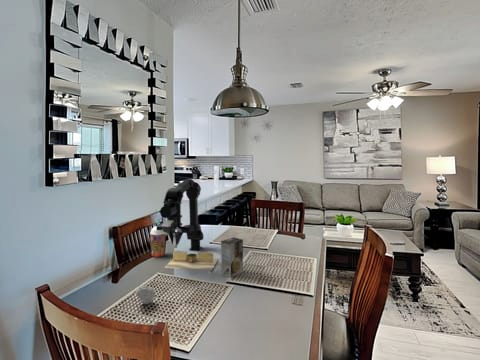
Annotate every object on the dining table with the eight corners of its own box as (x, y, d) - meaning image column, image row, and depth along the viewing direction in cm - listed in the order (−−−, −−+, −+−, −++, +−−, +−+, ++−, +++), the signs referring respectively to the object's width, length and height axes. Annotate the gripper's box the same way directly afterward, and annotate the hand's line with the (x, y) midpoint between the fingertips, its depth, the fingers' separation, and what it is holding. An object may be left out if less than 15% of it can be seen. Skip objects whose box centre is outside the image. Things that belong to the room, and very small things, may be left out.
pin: (174, 246, 147) (174, 231, 147) (179, 246, 146) (178, 232, 146) (171, 247, 145) (171, 232, 144) (176, 248, 144) (175, 233, 143)
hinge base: (175, 258, 156) (175, 249, 155) (198, 259, 154) (198, 250, 154) (171, 261, 150) (171, 252, 150) (195, 263, 149) (195, 253, 149)
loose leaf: (198, 260, 152) (198, 251, 152) (213, 260, 152) (213, 252, 152) (197, 261, 151) (197, 252, 151) (212, 261, 150) (212, 253, 150)
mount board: (174, 258, 158) (174, 256, 158) (218, 260, 156) (218, 258, 156) (164, 268, 142) (164, 267, 142) (211, 271, 140) (211, 270, 140)
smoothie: (149, 259, 155) (149, 223, 154) (150, 254, 163) (149, 219, 162) (165, 258, 157) (165, 222, 156) (165, 253, 165) (165, 219, 164)
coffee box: (233, 268, 143) (233, 236, 142) (243, 272, 139) (243, 239, 138) (220, 274, 136) (220, 240, 135) (230, 277, 132) (231, 243, 131)
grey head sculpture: (133, 303, 108) (132, 285, 107) (150, 297, 113) (150, 280, 112) (140, 309, 103) (140, 291, 103) (158, 303, 108) (158, 285, 108)
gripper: (149, 215, 140) (149, 247, 141) (182, 218, 134) (183, 251, 135) (162, 211, 150) (163, 240, 152) (194, 214, 144) (194, 244, 145)
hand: (175, 244), depth 146 cm, fingers closed on pin, 2 cm apart
